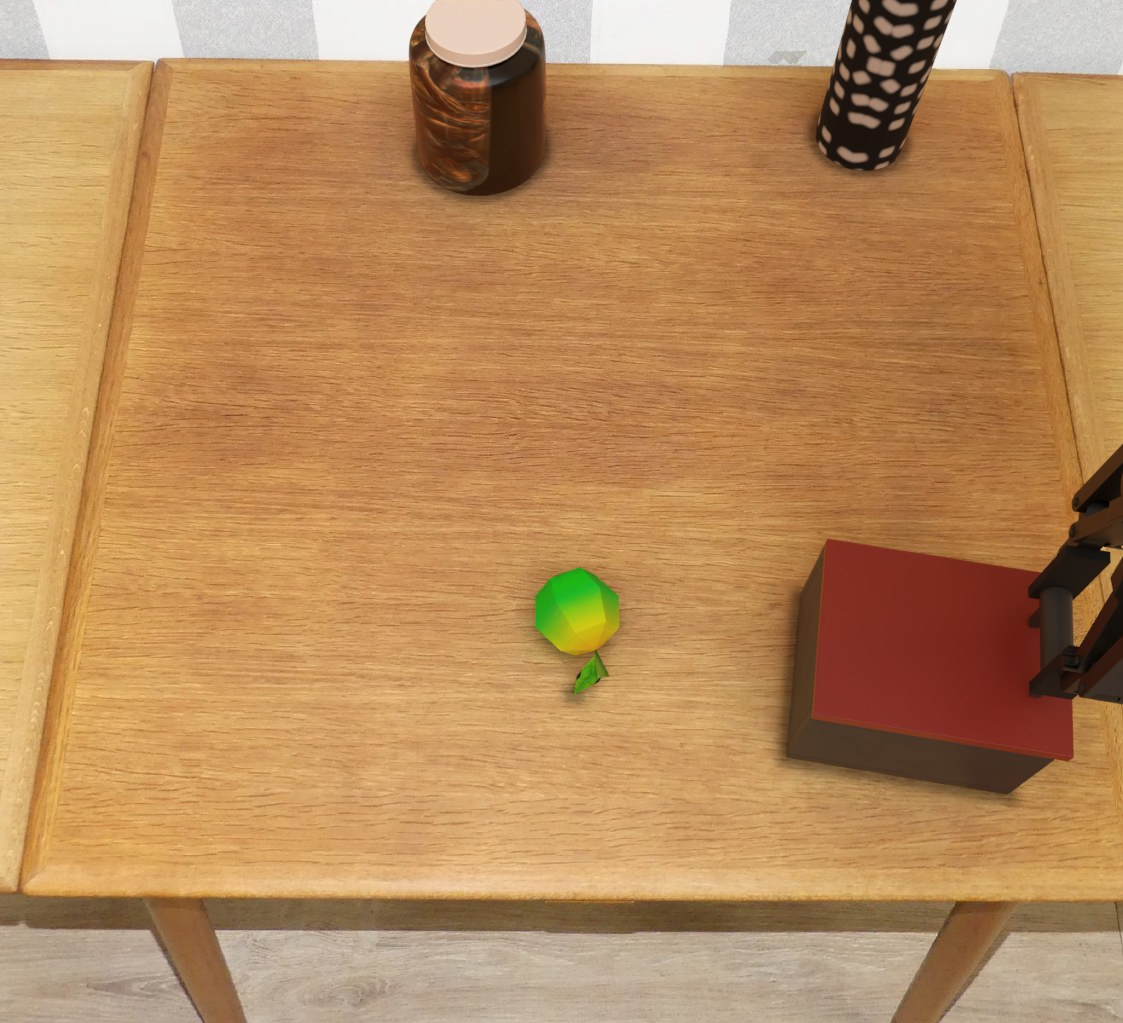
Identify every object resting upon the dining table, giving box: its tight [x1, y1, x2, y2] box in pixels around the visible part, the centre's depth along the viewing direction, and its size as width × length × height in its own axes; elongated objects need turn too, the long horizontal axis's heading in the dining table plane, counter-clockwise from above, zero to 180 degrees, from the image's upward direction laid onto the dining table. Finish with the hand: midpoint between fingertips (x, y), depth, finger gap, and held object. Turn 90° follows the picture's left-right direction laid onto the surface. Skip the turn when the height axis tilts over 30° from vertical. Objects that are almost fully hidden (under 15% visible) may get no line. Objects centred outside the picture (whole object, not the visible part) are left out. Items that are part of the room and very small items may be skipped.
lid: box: [811, 538, 1075, 762], centre depth 80 cm, size 17×13×6 cm
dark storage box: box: [785, 546, 1056, 795], centre depth 87 cm, size 16×13×9 cm
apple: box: [534, 566, 621, 696], centre depth 90 cm, size 7×6×9 cm
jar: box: [408, 0, 547, 196], centre depth 108 cm, size 12×12×15 cm
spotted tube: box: [815, 0, 958, 172], centre depth 108 cm, size 8×8×20 cm
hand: (1049, 642), depth 79 cm, fingers closed on lid, 6 cm apart
